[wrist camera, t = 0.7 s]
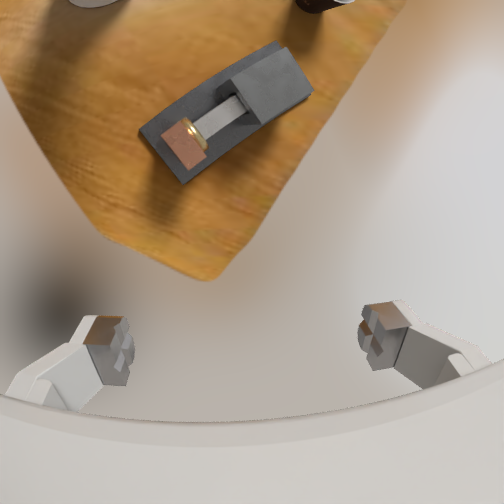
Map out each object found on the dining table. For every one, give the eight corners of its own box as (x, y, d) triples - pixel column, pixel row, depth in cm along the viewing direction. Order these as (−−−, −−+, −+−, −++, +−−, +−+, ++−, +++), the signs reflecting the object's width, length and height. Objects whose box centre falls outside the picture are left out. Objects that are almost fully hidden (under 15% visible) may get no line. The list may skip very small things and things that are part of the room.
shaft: (182, 164, 46) (188, 170, 38) (159, 135, 43) (161, 135, 35) (266, 104, 46) (288, 100, 39) (246, 75, 44) (265, 65, 36)
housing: (182, 184, 49) (189, 195, 41) (139, 129, 44) (135, 127, 35) (308, 95, 50) (338, 90, 41) (274, 41, 44) (299, 26, 35)
